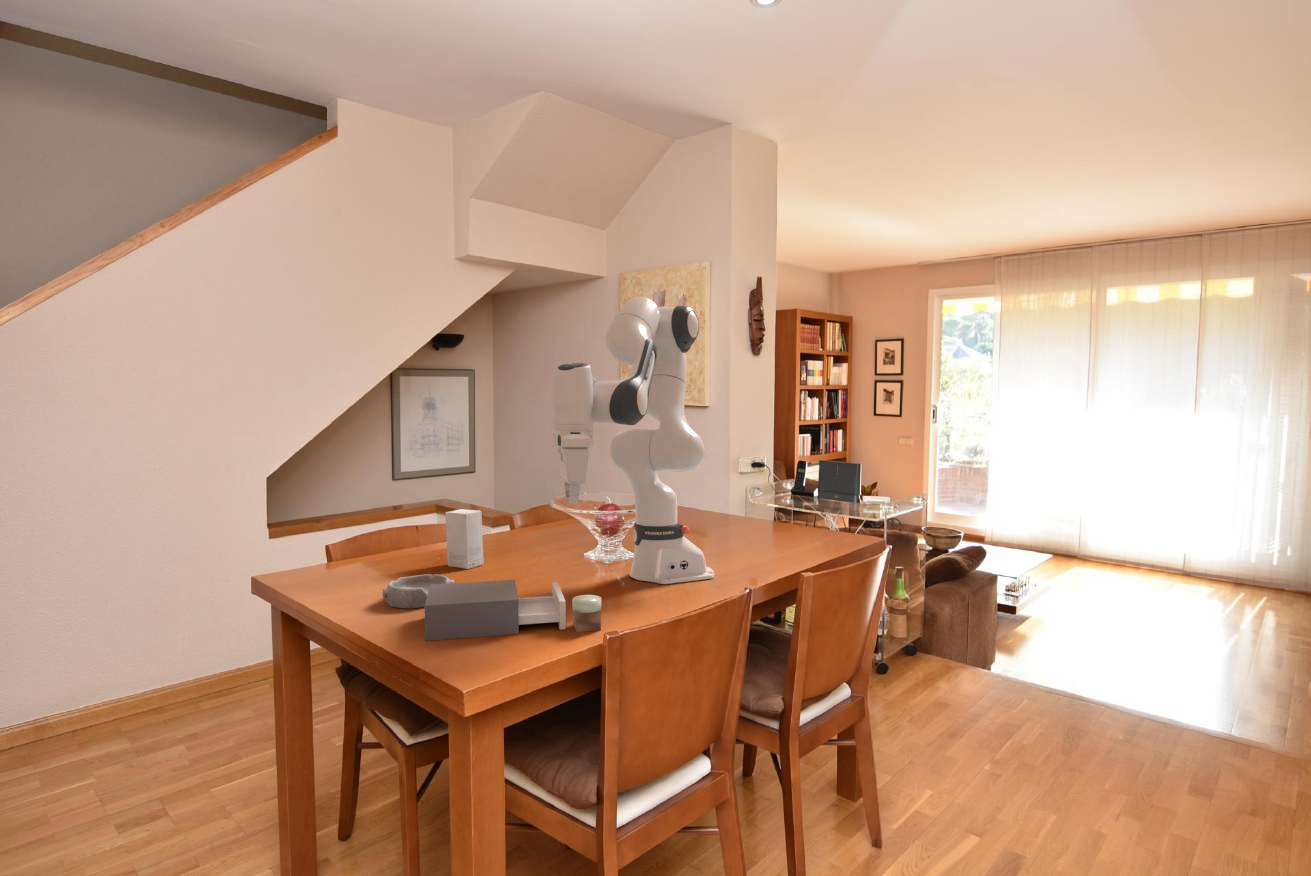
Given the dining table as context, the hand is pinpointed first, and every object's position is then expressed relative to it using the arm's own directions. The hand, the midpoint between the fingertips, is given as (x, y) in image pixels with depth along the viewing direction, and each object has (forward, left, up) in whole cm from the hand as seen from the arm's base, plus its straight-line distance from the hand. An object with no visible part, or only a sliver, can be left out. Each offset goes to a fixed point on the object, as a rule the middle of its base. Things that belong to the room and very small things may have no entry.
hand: (571, 501), depth 154 cm
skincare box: (+24, -53, -25) cm, 63 cm away
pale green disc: (-2, +8, -21) cm, 23 cm away
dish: (+34, -20, -26) cm, 47 cm away
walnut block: (-2, +8, -25) cm, 26 cm away
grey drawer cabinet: (+21, +1, -25) cm, 33 cm away
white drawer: (+11, +1, -25) cm, 27 cm away
